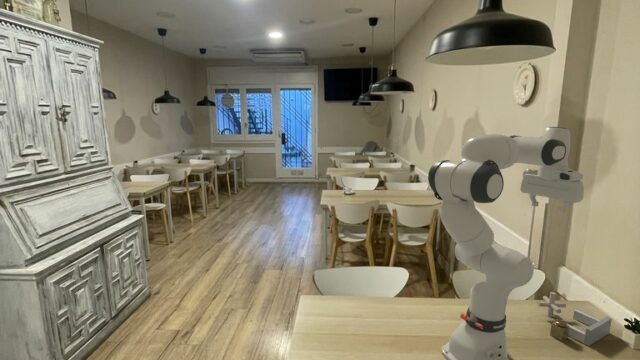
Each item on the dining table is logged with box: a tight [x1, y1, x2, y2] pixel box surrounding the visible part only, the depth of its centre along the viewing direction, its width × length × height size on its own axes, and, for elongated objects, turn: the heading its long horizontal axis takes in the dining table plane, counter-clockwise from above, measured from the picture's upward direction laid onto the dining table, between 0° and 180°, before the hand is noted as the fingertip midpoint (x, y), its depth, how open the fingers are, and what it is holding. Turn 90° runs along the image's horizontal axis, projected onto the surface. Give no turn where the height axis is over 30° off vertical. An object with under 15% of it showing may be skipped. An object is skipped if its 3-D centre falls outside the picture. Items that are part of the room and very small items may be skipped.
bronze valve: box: [549, 319, 570, 342], centre depth 126 cm, size 4×4×6 cm
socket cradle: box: [556, 309, 613, 347], centre depth 129 cm, size 15×12×6 cm
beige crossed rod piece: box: [536, 291, 567, 318], centre depth 138 cm, size 10×10×10 cm
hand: (547, 209), depth 127 cm, fingers open, 8 cm apart
